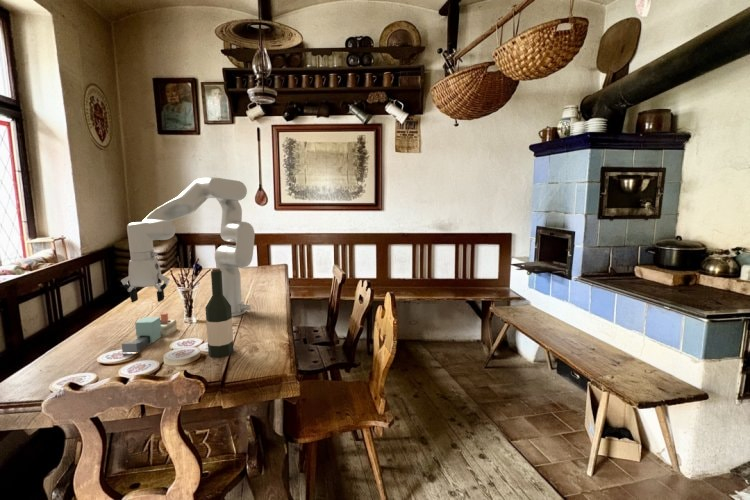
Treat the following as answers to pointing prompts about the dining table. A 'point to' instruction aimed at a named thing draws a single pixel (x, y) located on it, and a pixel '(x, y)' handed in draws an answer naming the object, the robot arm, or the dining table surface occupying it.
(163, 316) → the orange clay brick
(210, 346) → the wine bottle
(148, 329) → the carriage
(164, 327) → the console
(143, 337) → the rail
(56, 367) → the dining table surface
